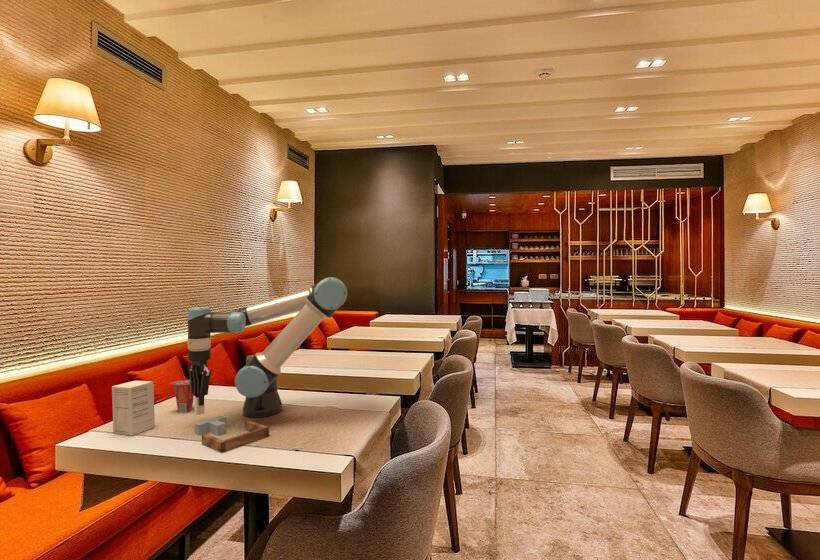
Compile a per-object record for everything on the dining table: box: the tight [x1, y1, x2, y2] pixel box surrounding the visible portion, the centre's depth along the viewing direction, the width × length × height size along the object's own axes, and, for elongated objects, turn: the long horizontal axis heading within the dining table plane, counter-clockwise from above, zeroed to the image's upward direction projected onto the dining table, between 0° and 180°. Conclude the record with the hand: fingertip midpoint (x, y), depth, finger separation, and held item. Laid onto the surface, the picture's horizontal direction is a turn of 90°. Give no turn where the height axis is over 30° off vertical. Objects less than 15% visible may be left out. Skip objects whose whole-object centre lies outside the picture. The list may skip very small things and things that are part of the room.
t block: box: [194, 415, 227, 437], centre depth 149 cm, size 9×10×4 cm
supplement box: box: [111, 380, 156, 437], centre depth 152 cm, size 10×9×17 cm
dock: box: [201, 420, 270, 454], centre depth 141 cm, size 12×17×3 cm
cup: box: [168, 379, 195, 414], centre depth 174 cm, size 9×8×12 cm
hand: (199, 413), depth 155 cm, fingers closed
